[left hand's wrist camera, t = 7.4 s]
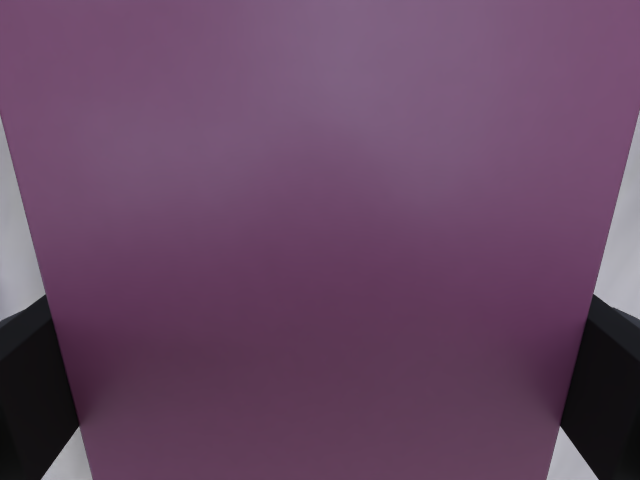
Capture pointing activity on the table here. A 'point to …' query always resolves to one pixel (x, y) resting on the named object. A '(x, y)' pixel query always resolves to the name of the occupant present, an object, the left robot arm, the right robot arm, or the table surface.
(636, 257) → the table surface
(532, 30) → the cabinet
